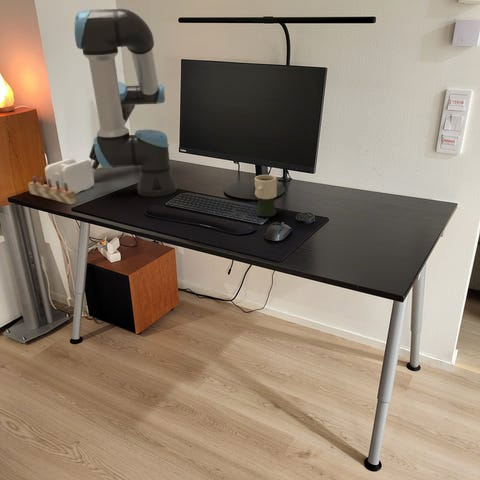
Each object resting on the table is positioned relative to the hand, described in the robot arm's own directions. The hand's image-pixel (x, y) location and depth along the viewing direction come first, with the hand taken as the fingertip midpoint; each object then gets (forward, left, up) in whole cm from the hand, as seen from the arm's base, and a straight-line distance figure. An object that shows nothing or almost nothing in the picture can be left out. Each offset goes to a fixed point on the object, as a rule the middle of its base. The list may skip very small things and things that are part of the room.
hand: (88, 175), depth 202 cm
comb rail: (-2, +20, -4) cm, 20 cm away
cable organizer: (-1, +10, -4) cm, 11 cm away
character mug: (-83, -6, -4) cm, 83 cm away
